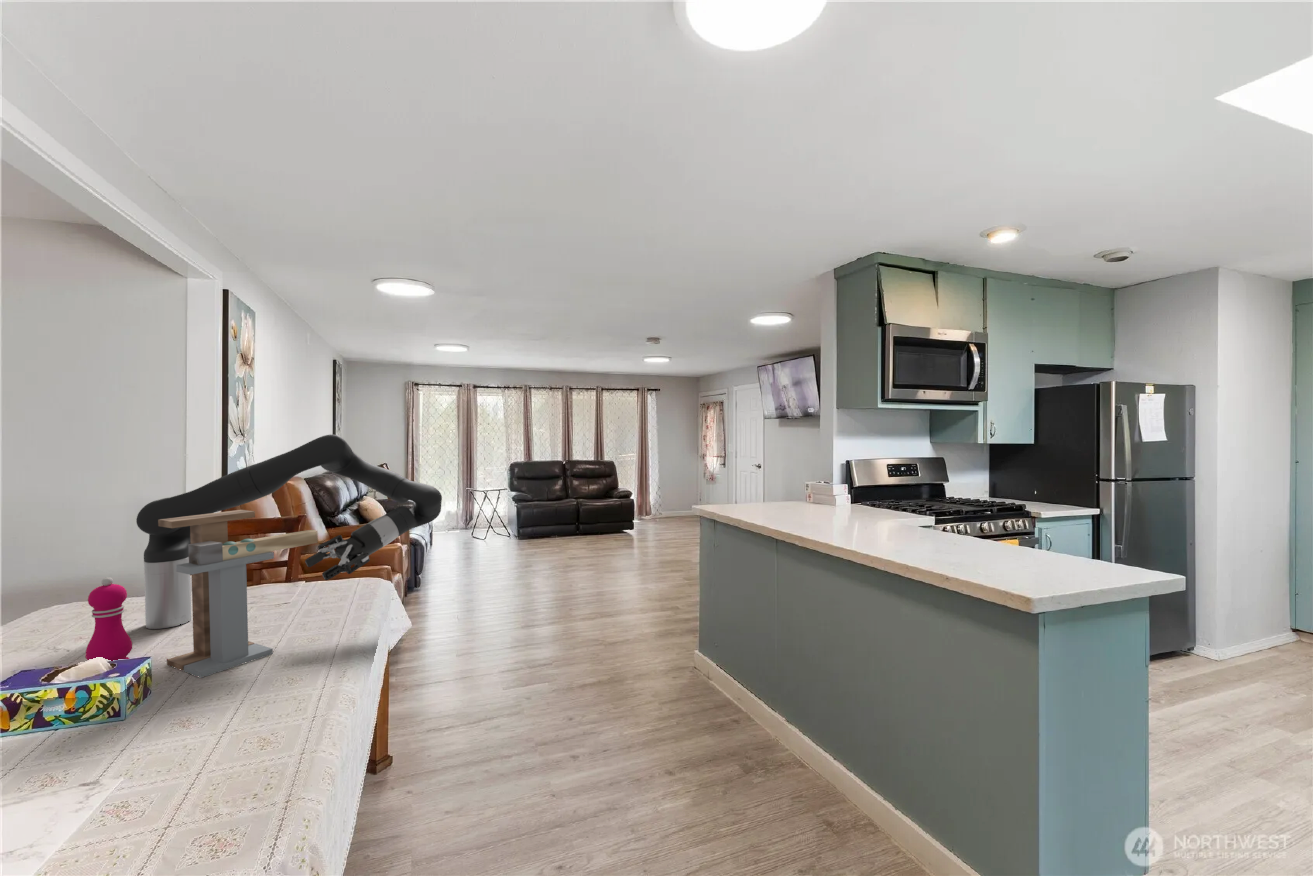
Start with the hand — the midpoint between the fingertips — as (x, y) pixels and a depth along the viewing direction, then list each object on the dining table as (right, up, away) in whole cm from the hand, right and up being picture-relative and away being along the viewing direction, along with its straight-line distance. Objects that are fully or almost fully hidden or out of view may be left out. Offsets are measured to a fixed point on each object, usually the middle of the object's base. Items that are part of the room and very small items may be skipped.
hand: (315, 570), depth 141 cm
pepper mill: (-32, -17, -19) cm, 41 cm away
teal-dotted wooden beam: (-7, +7, -10) cm, 14 cm away
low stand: (-9, -17, -16) cm, 25 cm away
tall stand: (-16, -17, -12) cm, 26 cm away
